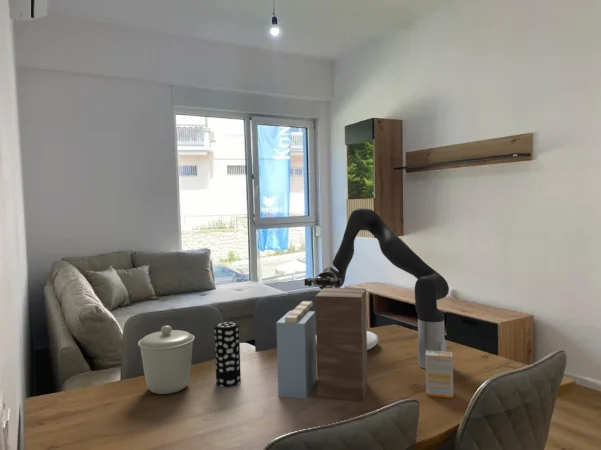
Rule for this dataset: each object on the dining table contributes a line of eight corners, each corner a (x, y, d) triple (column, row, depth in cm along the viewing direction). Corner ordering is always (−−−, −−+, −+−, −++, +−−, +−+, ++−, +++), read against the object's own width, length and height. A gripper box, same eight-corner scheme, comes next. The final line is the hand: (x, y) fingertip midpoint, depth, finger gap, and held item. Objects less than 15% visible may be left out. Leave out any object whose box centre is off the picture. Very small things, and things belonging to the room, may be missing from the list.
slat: (303, 305, 165) (303, 300, 165) (312, 305, 164) (312, 301, 164) (285, 322, 142) (284, 317, 142) (295, 322, 141) (295, 317, 141)
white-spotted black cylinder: (245, 379, 157) (243, 322, 156) (231, 388, 150) (230, 328, 149) (225, 376, 161) (223, 320, 160) (211, 385, 153) (209, 326, 152)
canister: (158, 405, 139) (155, 337, 138) (129, 389, 151) (127, 327, 150) (207, 386, 152) (205, 324, 151) (177, 373, 164) (175, 316, 163)
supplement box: (453, 392, 143) (453, 351, 142) (453, 399, 138) (453, 356, 138) (426, 389, 145) (426, 349, 145) (425, 395, 141) (425, 354, 140)
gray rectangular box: (291, 377, 159) (289, 310, 158) (316, 378, 156) (315, 311, 155) (278, 396, 143) (276, 322, 142) (306, 398, 141) (304, 323, 140)
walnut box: (326, 380, 155) (324, 287, 153) (367, 383, 151) (365, 288, 150) (317, 398, 141) (315, 296, 140) (362, 401, 138) (361, 297, 136)
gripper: (310, 271, 190) (301, 273, 175) (343, 271, 187) (338, 273, 171) (310, 289, 190) (301, 293, 174) (344, 289, 187) (338, 293, 171)
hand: (319, 283), depth 173 cm, fingers open, 8 cm apart
